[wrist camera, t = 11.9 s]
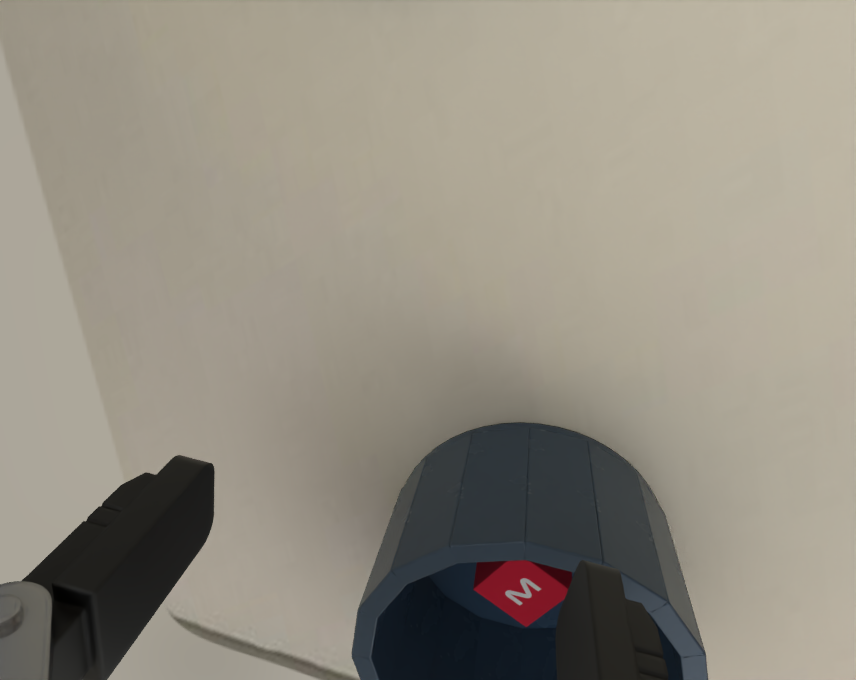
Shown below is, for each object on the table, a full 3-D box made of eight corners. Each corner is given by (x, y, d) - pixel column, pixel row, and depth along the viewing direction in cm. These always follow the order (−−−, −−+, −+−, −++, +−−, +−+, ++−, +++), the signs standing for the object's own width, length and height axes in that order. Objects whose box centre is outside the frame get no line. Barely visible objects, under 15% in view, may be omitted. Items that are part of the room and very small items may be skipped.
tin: (384, 594, 31) (339, 735, 24) (417, 394, 25) (372, 503, 19) (619, 657, 29) (642, 826, 23) (706, 460, 24) (770, 603, 17)
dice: (520, 504, 26) (517, 552, 23) (570, 541, 26) (573, 593, 24) (479, 540, 27) (472, 589, 25) (527, 575, 28) (526, 627, 25)
